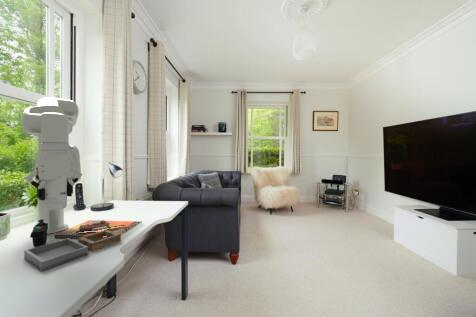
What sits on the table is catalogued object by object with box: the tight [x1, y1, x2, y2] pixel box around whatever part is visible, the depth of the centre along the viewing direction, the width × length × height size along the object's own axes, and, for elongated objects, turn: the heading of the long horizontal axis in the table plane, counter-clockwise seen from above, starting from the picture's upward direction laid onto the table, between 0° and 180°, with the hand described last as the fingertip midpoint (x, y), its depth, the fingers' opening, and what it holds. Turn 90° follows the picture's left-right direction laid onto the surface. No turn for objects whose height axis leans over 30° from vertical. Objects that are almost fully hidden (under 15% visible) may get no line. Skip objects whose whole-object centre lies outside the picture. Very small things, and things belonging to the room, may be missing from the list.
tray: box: [23, 237, 89, 272], centre depth 76 cm, size 16×13×3 cm
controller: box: [29, 219, 48, 248], centre depth 84 cm, size 4×12×10 cm, turn 36°
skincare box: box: [44, 175, 68, 210], centre depth 76 cm, size 6×4×12 cm
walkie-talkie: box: [76, 219, 125, 232], centre depth 104 cm, size 9×4×20 cm
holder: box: [77, 229, 122, 253], centre depth 87 cm, size 11×11×3 cm
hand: (56, 197), depth 76 cm, fingers closed on skincare box, 7 cm apart
